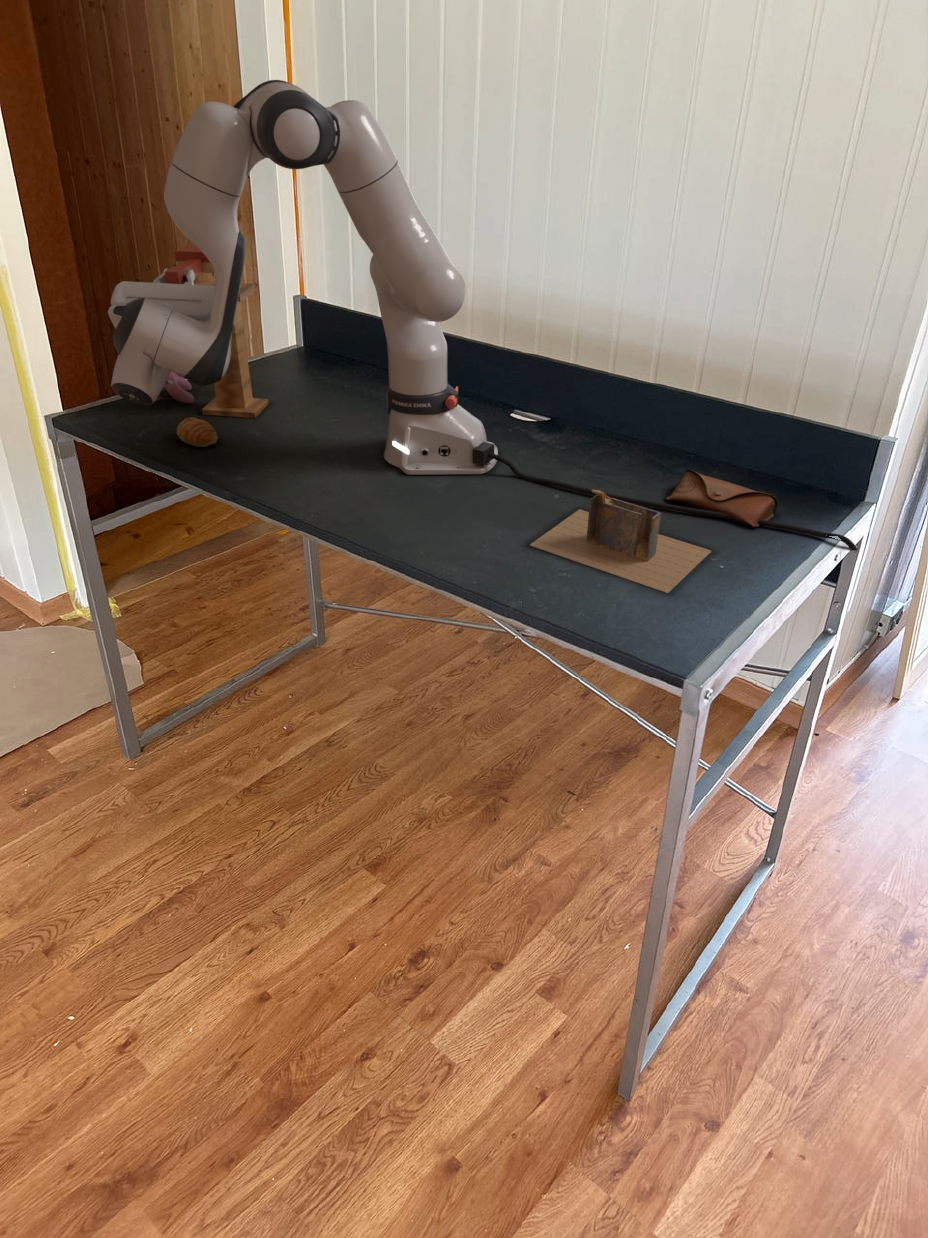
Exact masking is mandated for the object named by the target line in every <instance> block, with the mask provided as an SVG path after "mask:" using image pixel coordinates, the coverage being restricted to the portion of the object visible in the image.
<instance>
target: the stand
mask: <svg viewBox="0 0 928 1238" xmlns="http://www.w3.org/2000/svg"><path fill="white" fill-rule="evenodd" d="M194 285H207V286H216V281H206V280H199V281H198V282H195V283H194ZM255 292H256V284H255V283H252V282H251V283H250V282H249V283H248V282H241V285H240V291H239V297H238V303H237V307H236V313H235V319H234V324H233V328H232V333H231V358H230V363H229V366H228V369H227V371H226V373H225V375H224V376H223V377H222V378H221V381H219V382H216V383H213V386H214V394H215V397H214V398H212V399H211V400H210V401H209V402H208V403H207V404H206V405H205V406H204V407H203V408H201V413H202V415H204V416H218V417H219V416H220V417H230V418H231V417H233V418H247V419H248V418H249V419H256V418H257V417H258V416H259V415H260V414H261V413H262V412H263V411H264V410H265V409H266V408H267V407H268V406H269V399H268V398H258V397H253V389H252V382H251V375H250V368H249V367H250V366H249V360H248V359H249V358H248V351H247V343H246V335H245V327H244V319H243V311H242V304H241V302H242V301H243V300H245V299H246V298H248V297H249V296H251V295H252V294H254V293H255Z"/></svg>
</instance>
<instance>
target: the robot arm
mask: <svg viewBox="0 0 928 1238" xmlns="http://www.w3.org/2000/svg"><path fill="white" fill-rule="evenodd" d="M265 159H269V160H271V162H273V163H274V164H275V165H278V166H279V167H281V168H285V169H288V170H302V169H303V170H304V169H308V168H311V167H316V166H322V165H323V166H324V167H325V169H326V171H327V172H328V174H329V175H330V178H331V180H332V182H333V184H334V186H335V189H336V190H337V192H338V195H339V197H340V199H341V201H342V203H343V205H344V207H345V209H346V211H347V213H348V215H349V217H350V219H351V221H352V224H353V226H354V228H355V230H356V232H357V233H358V235H359V237H360V239H362V241H363V242H364V243H365V246H367V247H368V249H369V250H370V252H371V254H372V256H371V259H370V261H369V262H370V263H369V275H370V278H371V280H372V281H371V282H372V283H373V285H374V288H375V292H376V296H377V302H378V307H379V312H380V317H381V321H382V325H383V330H384V335H385V340H386V348H387V366H388V368H387V369H388V384H387V387H386V407H387V408H386V409H387V415H388V417H389V418H388V431H387V437H386V438H387V439H386V445H385V449H384V452H383V458H384V460H385V461H386V462H387V463H388V464H389V465H392V466H395V467H396V468H399V469H400V470H401V472H403V473H404V474H406V475H410V476H411V475H412V476H415V475H416V476H417V475H418V476H419V475H424V476H425V475H483V474H485V473H488V472H489V471H491V470H493V468H494V467H495V466H496V464H497V462H500V463H502V464H504V465H506V466H507V467H508V468H509V469H510V470H511V472H512V473H513V474H514V475H515V476H517V477H519V478H521V479H523V480H525V481H529V482H533V483H537V484H544V485H550V486H554V487H558V488H561V489H565V490H570V491H573V492H578V493H582V494H586V495H591V496H595V495H597V494H595V493H592V491H591V488H587V487H581V486H577V485H574V484H569V483H566V482H562V481H558V480H553V479H548V478H541V477H536V476H531V475H528V474H526V473H524V472H522V471H520V470H519V469H518V467H516V466H515V464H514V463H513V462H512V461H510V460H509V459H508V458H505V457H503V456H501V455H499V449H498V447H497V446H496V445H495V443H494V442H491V441H488V439H487V432H486V429H485V426H484V424H483V422H482V421H481V420H480V419H479V418H477V417H476V416H474V415H473V414H471V412H469V411H468V410H467V409H465V408H464V407H462V406H461V405H460V404H459V386H458V385H457V386H456V387H455V388H454V387H453V386H451V384H449V382H448V343H447V340H446V338H445V336H444V333H443V330H442V326H441V322H445V321H447V320H451V318H454V316H456V314H457V313H458V312H459V311H460V310H461V309H462V307H463V304H464V302H465V298H466V283H465V280H464V278H463V276H462V274H461V273H460V272H459V270H458V268H457V267H456V266H455V264H454V262H453V261H452V260H451V258H450V257H449V255H448V254H447V252H446V249H445V248H444V246H443V244H442V242H441V241H440V239H439V238H438V236H437V234H436V232H435V231H434V229H433V228H432V226H431V224H430V223H429V221H428V220H427V218H426V216H425V215H424V213H423V212H422V210H421V208H420V206H419V204H418V202H417V200H416V198H415V197H414V194H413V192H412V190H411V187H410V185H409V182H408V180H407V178H406V175H405V174H404V171H403V169H402V167H401V164H400V162H399V160H398V157H397V155H396V154H395V151H394V149H393V147H392V145H391V143H390V140H389V139H388V137H387V135H386V133H385V132H384V130H383V128H382V126H381V125H380V123H379V121H378V120H377V118H376V117H375V115H374V114H373V113H372V111H371V109H370V108H369V107H368V106H367V105H366V104H365V103H363V102H361V101H358V100H354V99H347V100H346V99H345V100H342V101H338V102H336V103H334V104H333V105H331V106H324V105H323V104H321V102H319V101H318V100H316V98H314V97H312V96H311V95H310V94H309V93H308V92H307V91H306V90H304V89H302V87H300V86H298V85H295V84H294V83H290V82H289V81H286V80H281V79H271V80H270V79H269V80H267V81H264V82H262V83H260V84H258V85H256V86H255V87H254V88H252V89H251V90H249V92H248V93H247V94H245V95H244V96H243V97H242V98H241V99H240V100H238V101H236V103H234V106H232V105H230V104H228V103H225V102H222V101H214V100H213V101H206V102H203V103H201V104H199V105H198V106H197V107H196V108H195V109H194V112H193V113H192V115H191V117H190V118H189V120H188V122H187V124H186V126H185V128H184V130H183V132H182V134H181V136H180V139H179V141H178V143H177V146H176V148H175V150H174V154H173V156H172V159H171V163H170V165H169V168H168V172H167V176H166V180H165V185H164V191H163V198H164V199H163V201H164V204H165V207H166V210H167V212H168V214H169V216H170V218H171V220H172V221H173V223H174V224H175V226H176V227H177V228H178V229H179V231H180V232H181V233H182V234H183V235H184V236H185V237H186V238H187V239H188V241H190V242H191V243H192V245H195V246H196V247H197V248H198V249H199V250H200V251H201V252H202V253H203V254H204V255H205V256H206V257H207V258H208V260H209V261H210V263H211V264H212V266H213V268H214V270H215V273H214V274H215V280H216V281H215V282H216V286H207V285H194V284H195V283H194V281H195V279H196V277H195V274H194V272H193V270H184V273H183V278H184V279H185V284H167V282H166V276H165V271H167V270H169V269H170V268H164V270H163V272H162V273H161V274H160V275H159V276H157V277H156V278H154V279H153V281H152V282H147V281H146V282H145V281H129V280H127V281H126V280H123V281H120V282H119V283H118V284H116V285H115V287H114V289H113V291H112V294H111V299H110V305H111V306H109V308H108V310H107V314H108V317H109V319H110V321H111V323H112V325H113V327H114V331H113V335H112V342H113V346H114V348H115V350H116V353H117V358H116V361H115V364H114V368H113V372H112V378H111V382H110V386H111V389H112V391H113V392H114V393H115V394H116V395H118V396H119V397H120V398H121V399H124V400H126V401H128V402H130V403H132V404H136V405H139V406H152V405H153V404H154V403H155V402H156V401H157V399H158V398H159V396H160V394H161V393H162V390H163V389H164V388H165V386H164V385H165V383H166V381H167V378H168V376H169V374H170V372H174V373H176V374H177V375H178V376H180V377H182V378H183V379H185V380H186V381H188V382H190V383H193V384H195V385H197V386H198V387H206V386H210V385H214V383H216V382H219V381H221V378H222V377H223V376H224V375H225V373H226V371H227V369H228V366H229V363H230V358H231V333H232V328H233V324H234V319H235V313H236V307H237V303H238V297H239V291H240V285H241V283H242V282H243V281H242V279H243V271H244V266H245V265H244V264H245V259H246V254H247V253H246V252H247V251H246V250H247V241H246V236H245V235H244V233H243V232H242V231H241V230H240V228H239V222H238V208H239V203H240V199H241V196H242V193H243V191H244V187H245V185H246V181H247V178H248V176H249V175H250V173H251V172H252V170H253V168H254V167H255V166H256V165H257V164H258V163H259V162H261V161H263V160H265ZM605 493H606V495H607V496H608V497H611V498H614V499H618V500H621V501H624V502H628V503H631V504H634V505H638V506H644V507H651V508H657V509H663V510H668V511H675V512H680V513H686V514H693V515H699V516H706V517H712V518H717V519H724V520H727V519H730V520H733V518H732V517H731V516H730V515H728V514H725V513H720V512H714V511H707V510H701V509H696V508H692V507H689V506H682V505H676V504H670V503H663V502H658V501H657V502H656V501H652V500H646V499H640V498H636V497H635V498H634V497H629V496H624V495H619V494H614V493H610V492H605ZM730 520H729V521H730ZM758 524H760V526H765V527H769V528H775V529H776V528H777V529H781V530H787V531H792V532H797V533H801V534H806V535H810V536H814V537H818V538H823V539H829V540H830V539H831V540H837V541H840V542H842V543H844V544H845V545H846V546H847V547H848V548H849V549H850V550H851V551H854V552H856V551H858V548H857V546H856V544H855V543H854V542H853V541H852V540H851V539H850V538H849V537H846V536H845V535H842V534H838V533H834V532H826V531H819V530H816V529H812V528H807V527H803V526H798V525H794V524H793V525H792V524H787V523H782V522H776V521H771V520H768V521H767V520H761V519H759V520H758ZM826 535H827V536H826ZM829 536H838V537H839V538H840V539H841V540H838V539H835V538H832V537H829ZM813 736H815V737H819V736H820V733H816V732H814V733H813Z"/></svg>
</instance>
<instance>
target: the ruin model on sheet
mask: <svg viewBox="0 0 928 1238" xmlns="http://www.w3.org/2000/svg"><path fill="white" fill-rule="evenodd" d="M590 489H591V488H590ZM591 491H592V493H595V494H597V495H593V497H591V498H590V499H589V509H588V511H586V510H583V509H581V508H580V509H579V508H578V509H577V510H576V511H575V512H573V513H572V514H571V515H569V516H568V517H566V518H565V519H563V520H562V521H560V523H558V524H557V525H555V526H554V527H552V528H551V529H550V530H548V531H547V532H545V533H544V534H543V535H541V536H540V537H539V538H537V539H535V540H534V541H533V542H532V543H530V544H529V546H530V547H533V548H536V549H539V550H541V551H545V552H548V553H550V554H553V555H555V556H559V557H562V558H565V559H568V560H571V561H573V562H577V563H579V564H583V565H585V566H588V567H591V568H594V569H596V570H600V571H603V572H606V573H608V574H611V575H614V576H617V577H620V578H623V579H624V580H625V579H626V580H628V581H630V582H634V583H637V584H641V585H643V586H646V587H649V588H652V589H654V590H657V591H660V592H663V593H666V594H669V593H670V592H671V591H672V590H673V589H674V588H675V587H676V586H677V585H679V583H680V582H682V581H683V579H685V577H686V576H688V575H689V573H691V572H692V571H693V570H694V569H695V568H696V567H697V566H698V565H699V564H700V563H701V562H703V560H704V559H705V558H707V556H709V555H710V553H712V550H711V549H707V548H704V547H701V546H699V545H695V544H692V543H688V542H685V541H682V540H678V539H676V538H673V537H669V536H666V535H663V534H659V530H660V525H661V516H662V512H661V511H657V510H654V509H651V508H648V507H645V506H642V505H639V504H634V503H628V502H624V501H621V500H618V499H614V498H611V497H608V496H607V495H606V493H607V492H605V491H602V490H600V489H594V488H593V489H591Z"/></svg>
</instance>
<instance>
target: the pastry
mask: <svg viewBox="0 0 928 1238" xmlns="http://www.w3.org/2000/svg"><path fill="white" fill-rule="evenodd" d="M175 432H176V435H177V437H178V439H179V440H180V441H181V442H183V443H185V444H188V445H190V446H192V447H196V448H200V447H201V448H202V447H203V448H206V447H208V446H210V445H213V444H216V443H217V441H218V439H219V436H218V435H217V431H216V430H215V428H214V427H213V426H212V425H211V424H210V423H209V422H208V421H206V420H205V419H198V418H197V417H191V416H190V417H186V418H184V419H183V420H182V421H180V422H179V424H178V426H177V427H176V431H175Z"/></svg>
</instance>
